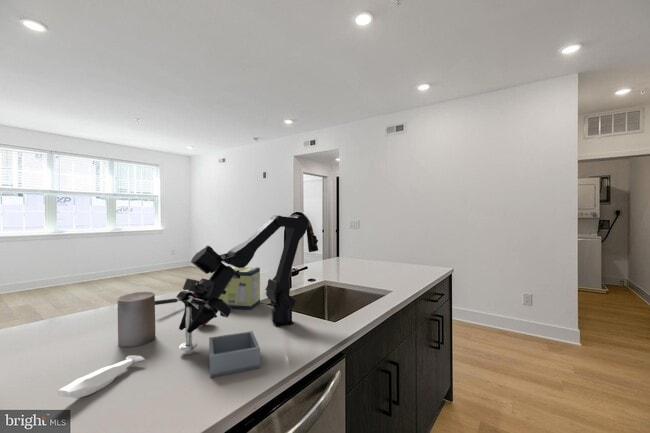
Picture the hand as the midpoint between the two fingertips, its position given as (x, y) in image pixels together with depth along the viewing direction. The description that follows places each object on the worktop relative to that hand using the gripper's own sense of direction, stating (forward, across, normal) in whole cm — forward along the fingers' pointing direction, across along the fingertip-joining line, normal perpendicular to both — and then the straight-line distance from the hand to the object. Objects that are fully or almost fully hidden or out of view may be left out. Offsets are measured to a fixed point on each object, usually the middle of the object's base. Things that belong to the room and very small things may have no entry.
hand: (184, 330), depth 79 cm
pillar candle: (+6, -21, +3) cm, 22 cm away
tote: (+1, +14, +8) cm, 17 cm away
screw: (+4, 0, +6) cm, 7 cm away
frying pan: (-14, -39, +24) cm, 48 cm away
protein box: (-22, -22, +32) cm, 45 cm away
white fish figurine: (+17, -2, -8) cm, 19 cm away
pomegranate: (-7, -14, +16) cm, 22 cm away
